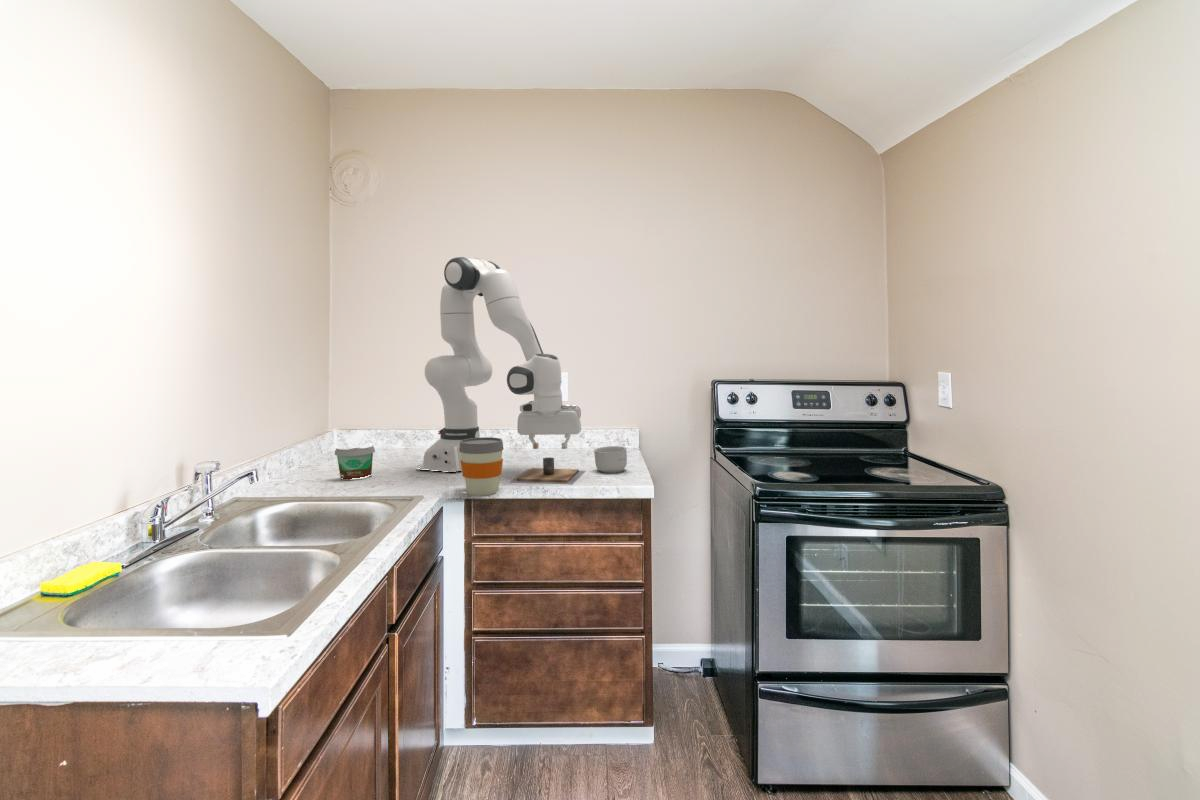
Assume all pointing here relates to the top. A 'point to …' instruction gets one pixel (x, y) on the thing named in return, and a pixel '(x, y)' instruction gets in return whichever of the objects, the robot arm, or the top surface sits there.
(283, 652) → the top surface
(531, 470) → the walnut lid
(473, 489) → the reusable coffee cup
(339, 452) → the food container
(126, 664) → the top surface
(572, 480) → the rubber mat
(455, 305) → the robot arm
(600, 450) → the teacup
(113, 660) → the top surface
